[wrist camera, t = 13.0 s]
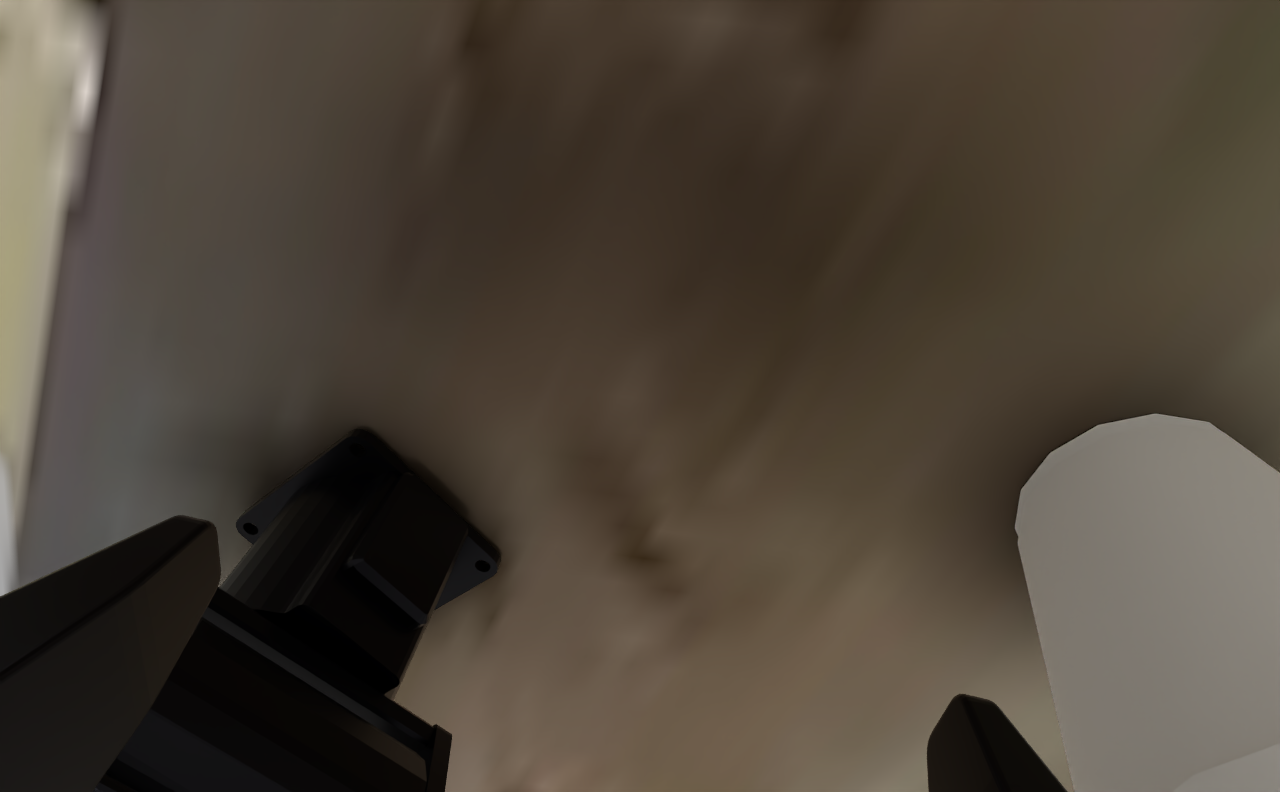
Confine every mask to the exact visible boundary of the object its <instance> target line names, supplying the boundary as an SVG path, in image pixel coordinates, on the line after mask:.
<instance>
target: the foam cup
mask: <svg viewBox="0 0 1280 792" xmlns="http://www.w3.org/2000/svg"><path fill="white" fill-rule="evenodd" d="M1015 530H1016V533H1017V535H1018V543H1017V544H1018V548H1019V552H1020V557H1021V561H1022V565H1023V570H1024V574H1025V579H1026V583H1027V587H1028V592H1029V596H1030V600H1031V605H1032V609H1033V613H1034V618H1035V622H1036V627H1037V631H1038V635H1039V640H1040V644H1041V648H1042V653H1043V657H1044V661H1045V666H1046V670H1047V675H1048V679H1049V683H1050V688H1051V692H1052V696H1053V701H1054V705H1055V709H1056V714H1057V718H1058V723H1059V727H1060V731H1061V736H1062V740H1063V744H1064V749H1065V753H1066V757H1067V762H1068V766H1069V771H1070V775H1071V779H1072V784H1073V788H1074V792H1280V473H1279V472H1278V471H1276V470H1275V469H1274V468H1272V467H1271V466H1270V465H1268V464H1267V463H1266V462H1264V461H1263V460H1261V459H1260V458H1259V457H1257V456H1256V455H1255V454H1253V453H1252V452H1250V451H1249V450H1248V449H1246V448H1245V447H1243V446H1242V445H1241V444H1239V443H1238V442H1237V441H1235V440H1234V439H1232V438H1231V437H1230V436H1228V435H1227V434H1226V433H1224V432H1222V431H1221V430H1219V429H1218V428H1216V427H1215V426H1214V425H1212V424H1211V423H1210V422H1206V421H1200V420H1193V419H1187V418H1181V417H1175V416H1168V415H1162V414H1156V413H1155V414H1150V415H1145V416H1140V417H1135V418H1130V419H1125V420H1120V421H1115V422H1110V423H1105V424H1100V425H1097V426H1095V427H1094V428H1092V429H1090V430H1088V431H1087V432H1085V433H1083V434H1082V435H1080V436H1078V437H1076V438H1075V439H1073V440H1071V441H1069V442H1068V443H1066V444H1064V445H1063V446H1061V447H1059V448H1057V449H1056V450H1054V451H1052V452H1050V453H1049V455H1048V456H1047V457H1046V459H1045V460H1044V461H1043V462H1042V464H1041V465H1040V466H1039V467H1038V469H1037V470H1036V471H1035V473H1034V474H1033V475H1032V476H1031V478H1030V479H1029V480H1028V481H1027V483H1026V484H1025V485H1024V486H1023V488H1022V489H1021V492H1020V498H1019V504H1018V510H1017V517H1016V523H1015Z"/></svg>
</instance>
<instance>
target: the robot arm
mask: <svg viewBox="0 0 1280 792" xmlns="http://www.w3.org/2000/svg"><path fill="white" fill-rule="evenodd" d="M355 443H358V444H361V445H362V446H363V447H364V448H365V450H363V449H360V448H359V447H357V445H356V444H355ZM253 524H254V525H256V526H254V525H253ZM236 528H237V530H238V532H239V533H240V534H241V535H242V536H243V537H245V538H246V539H247V540H248V541H249V542H251V543H252V544H253V546H252V547H251V548H250V550H249V551H248V552H247V553H246V555H245V556H244V557H243V558H242V560H241V561H240V562H239V564H238V565H237V566H236V567H235V569H234V570H233V571H232V572H231V574H230V575H229V576H228V577H227V579H226V580H225V581H224V583H223V584H222V585H221V586H220V588H219V587H218V584H219V581H220V575H221V567H220V557H219V547H218V537H217V530H216V527H215V526H214V524H213V523H211V522H209V521H206V520H202V519H198V518H193V517H189V516H184V515H178V516H174V517H171V518H169V519H167V520H165V521H162V522H160V523H158V524H156V525H154V526H152V527H150V528H147V529H145V530H143V531H141V532H139V533H137V534H134V535H132V536H130V537H128V538H126V539H124V540H121V541H119V542H117V543H115V544H113V545H111V546H108V547H106V548H104V549H102V550H100V551H98V552H95V553H93V554H91V555H89V556H87V557H85V558H83V559H80V560H78V561H76V562H74V563H72V564H70V565H67V566H65V567H63V568H61V569H59V570H57V571H54V572H52V573H50V574H48V575H46V576H44V577H41V578H39V579H37V580H35V581H33V582H31V583H29V584H26V585H24V586H22V587H20V588H18V589H16V590H13V591H11V592H9V593H7V594H5V595H3V596H0V792H445V786H446V778H447V771H448V764H449V756H450V749H451V741H452V734H450V733H449V732H447V731H446V730H444V729H443V728H441V727H440V726H438V725H437V724H435V725H433V726H432V725H430V724H429V723H427V722H426V721H424V720H422V719H421V718H419V717H418V716H416V715H415V714H413V713H412V712H410V711H409V710H407V709H406V708H404V707H402V706H401V705H399V704H398V703H396V702H395V701H393V700H394V697H395V695H396V693H397V691H398V689H399V686H400V684H401V682H402V680H403V678H404V675H405V673H406V671H407V669H408V666H409V664H410V662H411V660H412V658H413V655H414V653H415V651H416V649H417V647H418V644H419V642H420V640H421V638H422V635H423V633H424V631H425V629H426V627H427V624H428V622H429V620H430V618H431V615H432V613H433V611H434V610H435V609H437V608H439V607H441V606H442V605H444V604H446V603H447V602H449V601H451V600H453V599H454V598H456V597H458V596H459V595H461V594H463V593H465V592H466V591H468V590H470V589H472V588H473V587H475V586H477V585H478V584H480V583H482V582H484V581H485V580H487V579H489V578H490V577H492V576H494V575H495V574H496V573H497V570H498V568H499V565H500V562H501V558H500V555H499V554H498V552H497V551H496V550H495V549H494V548H493V547H492V546H490V545H489V544H488V543H487V542H486V541H485V540H484V539H483V538H482V537H481V536H480V535H479V534H478V533H477V532H476V531H475V530H474V529H472V528H471V527H470V526H469V525H468V524H467V523H466V522H465V521H464V520H463V519H462V518H461V517H460V516H459V515H458V514H457V513H456V512H454V511H453V510H452V509H451V508H450V507H449V506H448V505H447V504H446V503H445V502H444V501H443V500H442V499H441V498H440V497H439V496H438V495H436V494H435V493H434V492H433V491H432V490H431V489H430V488H429V487H428V486H427V485H426V484H425V483H424V482H423V481H422V480H421V479H420V478H418V477H417V476H416V475H415V474H414V473H413V472H412V471H411V470H410V469H409V468H408V467H407V466H406V465H405V464H404V463H403V462H402V461H400V460H399V459H398V458H397V457H396V456H395V455H394V454H393V453H392V452H391V451H390V450H389V449H388V448H387V447H386V446H385V445H384V444H382V443H381V442H380V441H379V440H378V439H377V438H376V437H375V436H374V435H373V434H371V433H370V432H368V431H366V430H363V429H355V430H353V431H351V432H350V433H348V434H347V435H346V436H344V437H343V438H342V439H340V440H339V441H338V442H336V443H335V444H334V445H332V446H331V447H330V448H328V449H327V450H326V451H324V452H323V453H322V454H320V455H319V456H318V457H316V458H315V459H314V460H312V461H311V462H310V463H308V464H307V465H306V466H304V467H303V468H302V469H300V470H299V471H298V472H296V473H295V474H294V475H292V476H291V477H290V478H289V479H287V480H286V481H285V482H283V483H282V484H281V485H279V486H278V487H277V488H275V489H274V490H273V491H271V492H270V493H269V494H267V495H266V496H265V497H263V498H262V499H261V500H259V501H258V502H257V503H255V504H254V505H253V506H251V507H250V508H249V509H247V510H246V511H245V512H244V513H243V514H242V516H241V517H240V518H239V519H238V520H237V522H236ZM480 560H483V561H486V562H488V563H489V564H486V563H483V562H481V561H480ZM927 768H928V788H929V792H1067V790H1066V789H1065V788H1064V787H1063V786H1062V784H1061V783H1060V782H1059V781H1058V779H1057V778H1056V777H1055V776H1054V774H1053V773H1052V772H1051V771H1050V770H1049V768H1048V767H1047V766H1046V765H1045V763H1044V762H1043V761H1042V760H1041V758H1040V757H1039V756H1038V755H1037V754H1036V752H1035V751H1034V750H1033V749H1032V747H1031V746H1030V745H1029V744H1028V743H1027V741H1026V740H1025V739H1024V738H1023V736H1022V735H1021V734H1020V733H1019V731H1018V730H1017V729H1016V728H1015V727H1014V725H1013V724H1012V723H1011V722H1010V720H1009V719H1008V718H1007V717H1006V715H1005V714H1004V713H1003V712H1002V711H1001V709H1000V708H999V707H998V706H997V705H996V704H995V703H994V702H992V701H990V700H988V699H983V698H979V697H975V696H970V695H966V694H959V695H957V696H955V697H954V698H953V699H952V700H951V702H950V704H949V705H948V707H947V708H946V710H945V712H944V713H943V715H942V717H941V718H940V720H939V721H938V723H937V725H936V726H935V728H934V730H933V731H932V733H931V735H930V738H929V741H928V746H927Z"/></svg>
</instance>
